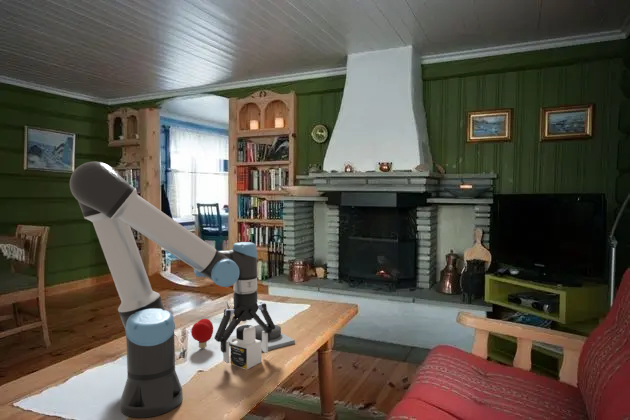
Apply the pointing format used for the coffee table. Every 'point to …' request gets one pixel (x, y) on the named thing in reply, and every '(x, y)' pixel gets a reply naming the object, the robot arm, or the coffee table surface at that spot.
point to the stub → (273, 335)
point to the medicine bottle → (246, 348)
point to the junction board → (271, 341)
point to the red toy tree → (202, 332)
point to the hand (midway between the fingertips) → (246, 356)
